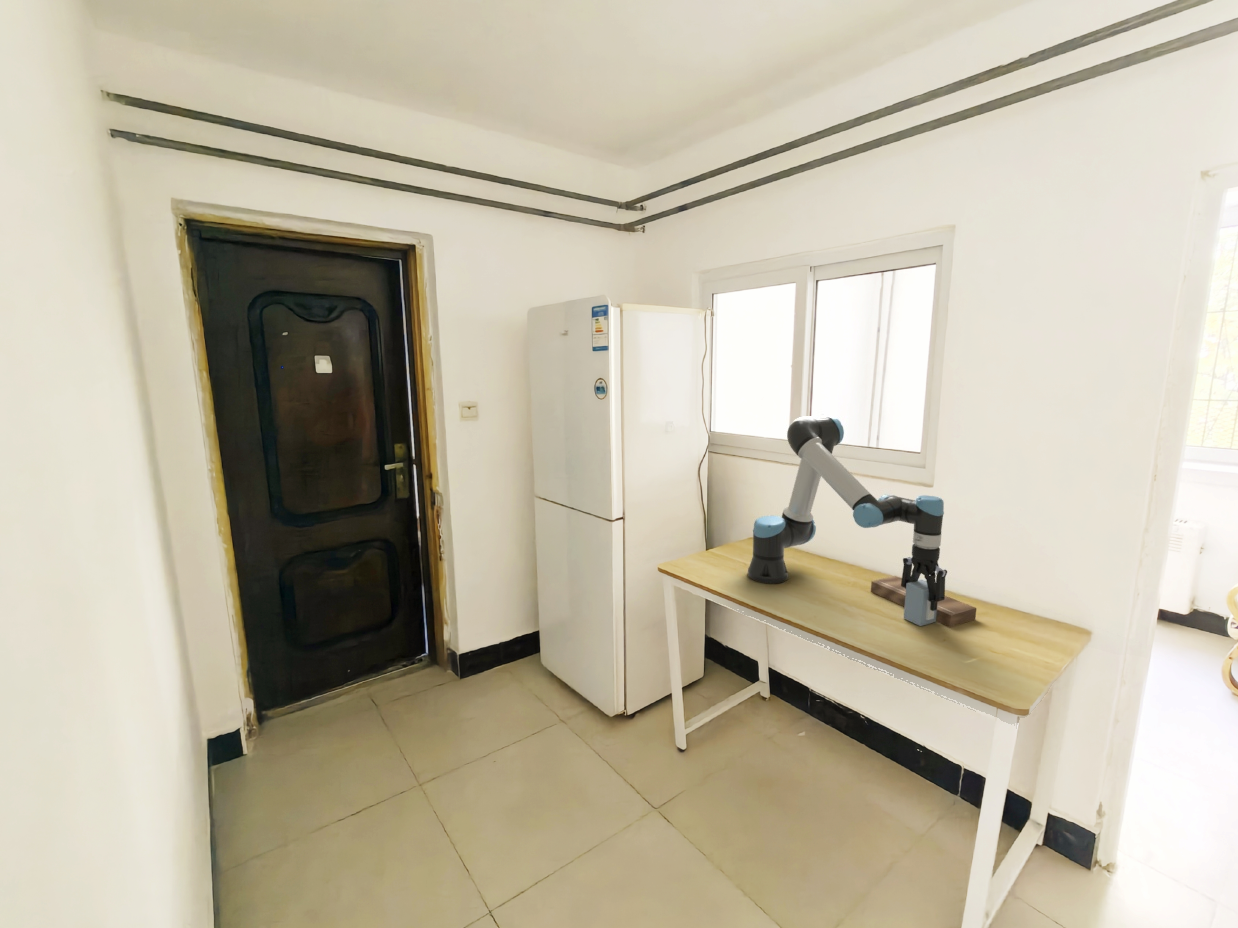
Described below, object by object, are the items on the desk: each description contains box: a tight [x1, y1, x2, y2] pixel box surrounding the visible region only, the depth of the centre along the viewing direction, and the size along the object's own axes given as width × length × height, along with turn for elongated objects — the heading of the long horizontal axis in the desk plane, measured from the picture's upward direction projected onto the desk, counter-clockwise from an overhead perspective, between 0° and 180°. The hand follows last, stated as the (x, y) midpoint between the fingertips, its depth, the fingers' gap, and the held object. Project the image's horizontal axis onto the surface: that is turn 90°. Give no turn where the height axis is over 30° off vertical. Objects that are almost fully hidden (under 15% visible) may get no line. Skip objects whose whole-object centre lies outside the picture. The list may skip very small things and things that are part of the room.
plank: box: [870, 575, 977, 628], centre depth 181 cm, size 30×12×4 cm, turn 23°
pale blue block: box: [903, 579, 938, 627], centre depth 170 cm, size 6×11×12 cm, turn 113°
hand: (920, 614), depth 170 cm, fingers closed on pale blue block, 6 cm apart
